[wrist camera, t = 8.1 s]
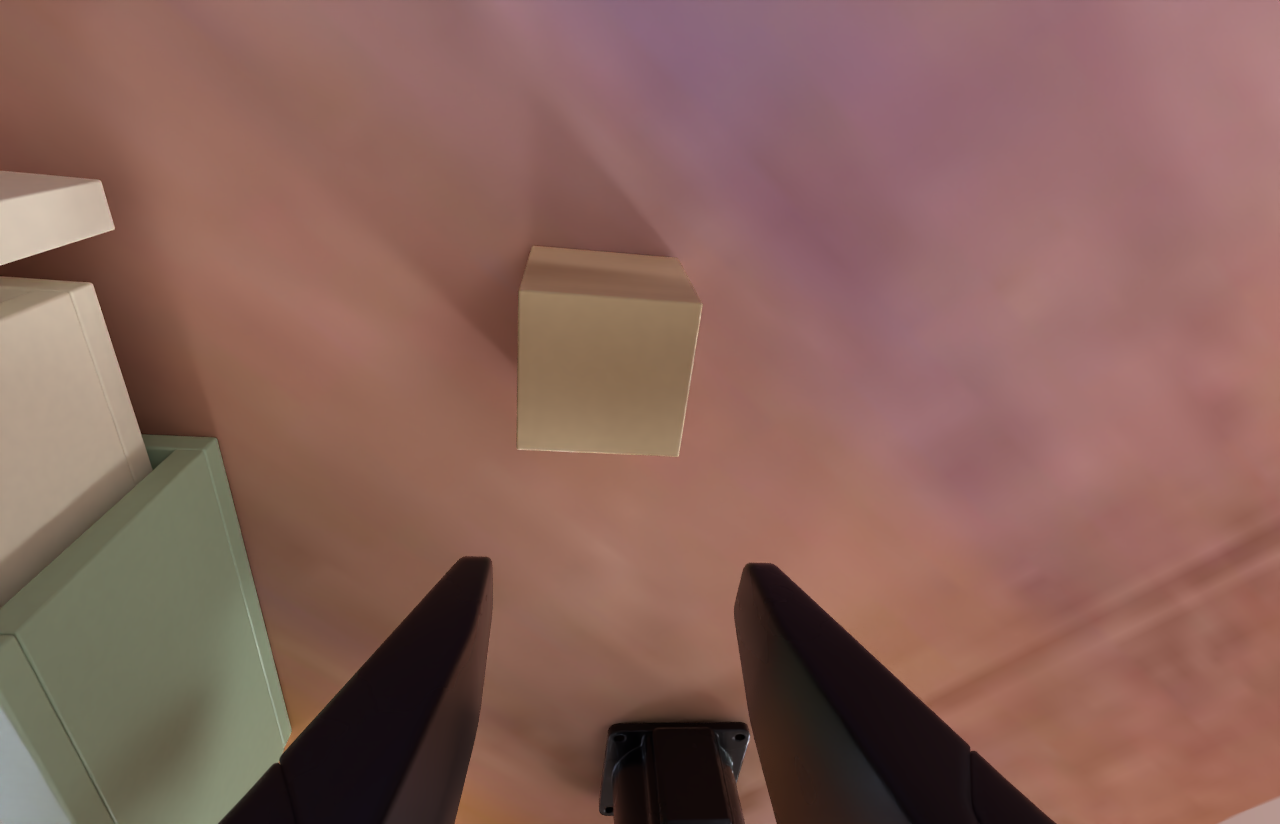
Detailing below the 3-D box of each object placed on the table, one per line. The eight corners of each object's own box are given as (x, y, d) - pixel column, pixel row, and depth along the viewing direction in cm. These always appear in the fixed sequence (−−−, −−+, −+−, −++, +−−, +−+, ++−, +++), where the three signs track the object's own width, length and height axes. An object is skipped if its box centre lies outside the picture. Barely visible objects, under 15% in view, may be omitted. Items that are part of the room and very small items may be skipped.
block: (661, 387, 20) (679, 457, 16) (528, 379, 19) (516, 450, 15) (678, 257, 18) (703, 303, 14) (531, 244, 17) (518, 289, 13)
